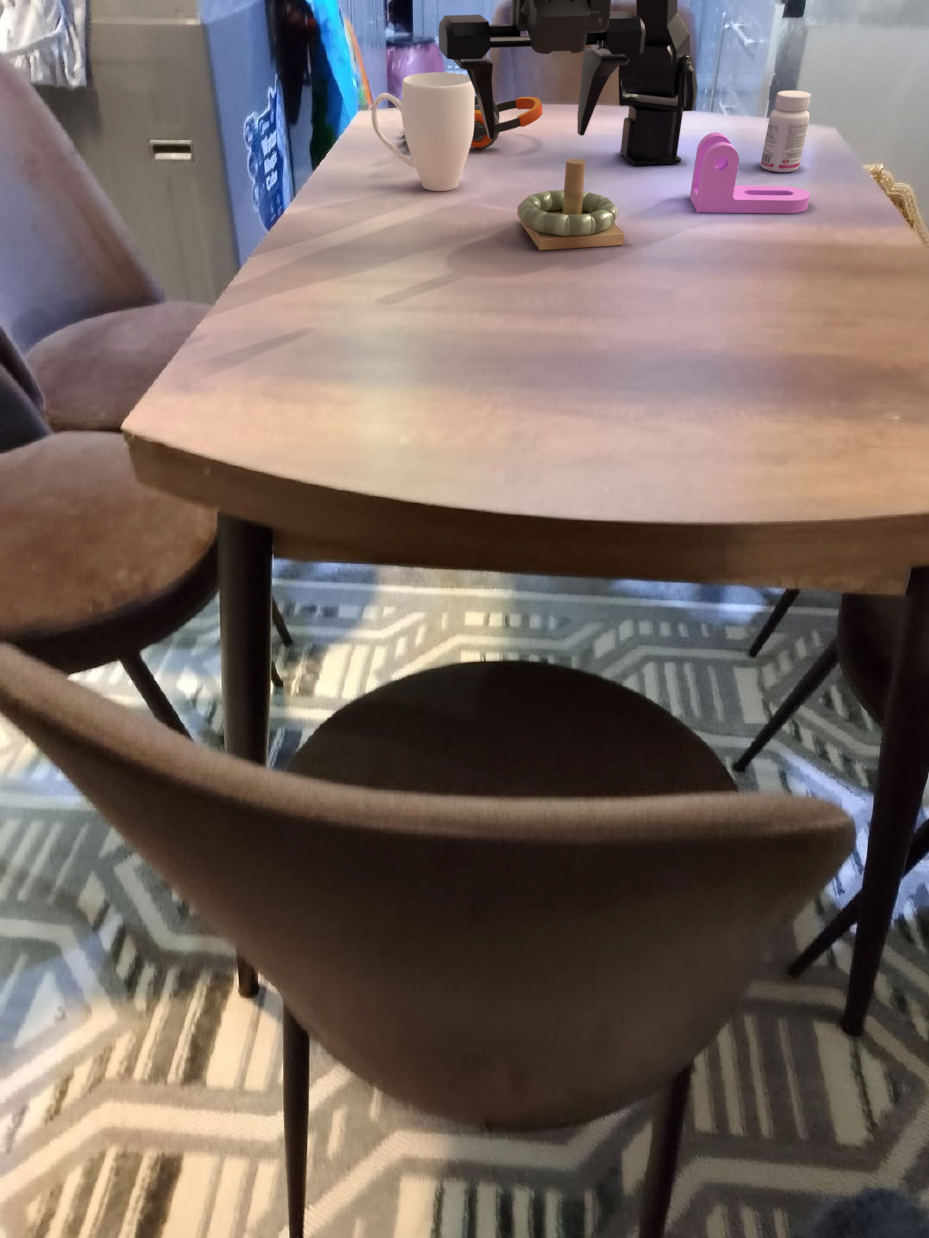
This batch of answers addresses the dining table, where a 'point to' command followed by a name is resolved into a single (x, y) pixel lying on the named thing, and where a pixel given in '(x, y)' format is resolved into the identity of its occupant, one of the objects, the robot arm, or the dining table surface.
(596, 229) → the ring
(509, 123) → the headphones
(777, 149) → the pill bottle
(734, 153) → the bracket
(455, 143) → the mug
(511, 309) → the dining table surface
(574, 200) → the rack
